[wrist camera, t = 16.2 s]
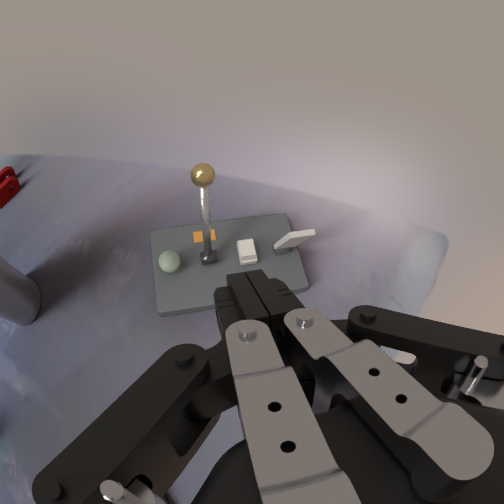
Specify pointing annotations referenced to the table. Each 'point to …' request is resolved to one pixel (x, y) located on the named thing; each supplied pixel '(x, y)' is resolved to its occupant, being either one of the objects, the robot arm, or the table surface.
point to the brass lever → (205, 209)
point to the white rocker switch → (246, 252)
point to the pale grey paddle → (292, 240)
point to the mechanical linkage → (8, 185)
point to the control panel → (220, 261)
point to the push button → (169, 261)
